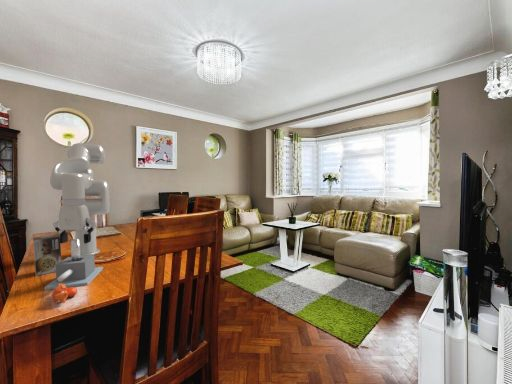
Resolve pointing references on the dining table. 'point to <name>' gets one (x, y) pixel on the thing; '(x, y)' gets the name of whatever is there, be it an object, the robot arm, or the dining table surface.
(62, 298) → the orange toy bird
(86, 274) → the grey socket block
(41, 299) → the dining table surface
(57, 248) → the coffee box
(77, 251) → the key peg
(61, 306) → the dining table surface
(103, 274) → the dining table surface
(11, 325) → the dining table surface
